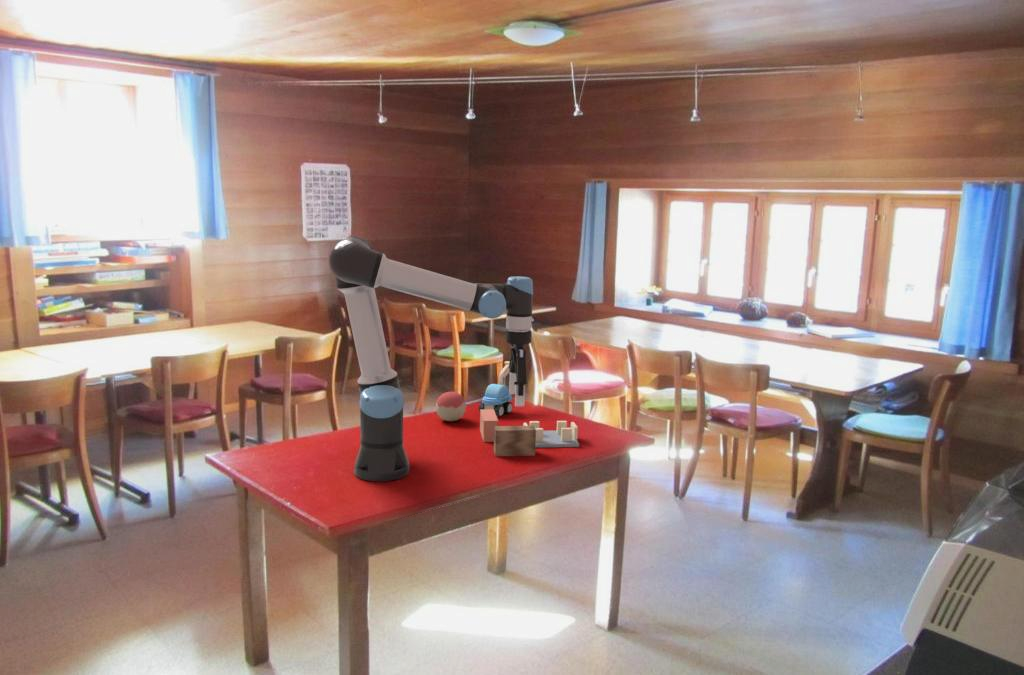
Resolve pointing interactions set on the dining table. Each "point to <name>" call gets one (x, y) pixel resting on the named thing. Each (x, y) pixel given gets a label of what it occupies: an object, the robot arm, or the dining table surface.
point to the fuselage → (514, 440)
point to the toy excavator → (498, 395)
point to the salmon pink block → (488, 424)
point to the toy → (450, 406)
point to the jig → (556, 435)
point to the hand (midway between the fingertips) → (516, 399)
